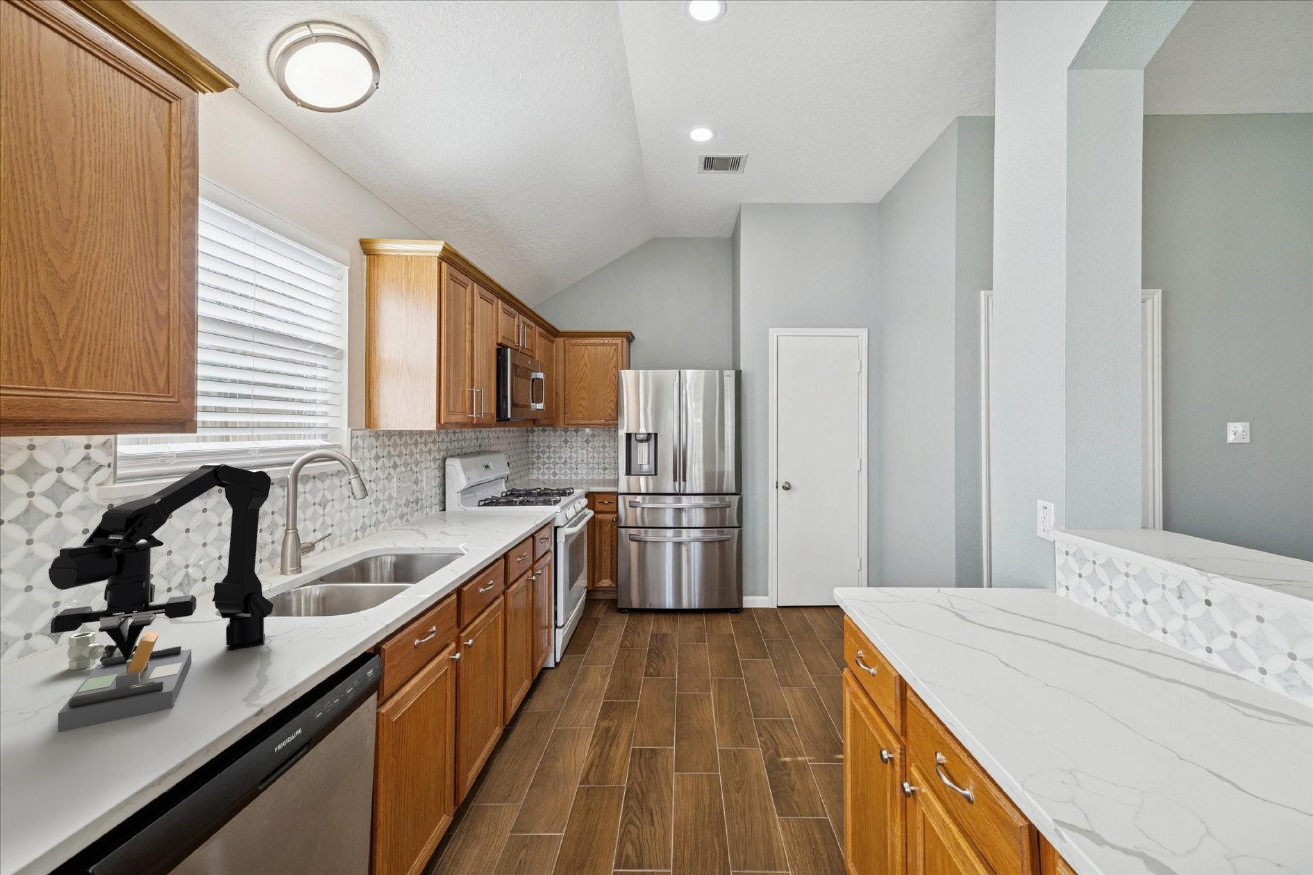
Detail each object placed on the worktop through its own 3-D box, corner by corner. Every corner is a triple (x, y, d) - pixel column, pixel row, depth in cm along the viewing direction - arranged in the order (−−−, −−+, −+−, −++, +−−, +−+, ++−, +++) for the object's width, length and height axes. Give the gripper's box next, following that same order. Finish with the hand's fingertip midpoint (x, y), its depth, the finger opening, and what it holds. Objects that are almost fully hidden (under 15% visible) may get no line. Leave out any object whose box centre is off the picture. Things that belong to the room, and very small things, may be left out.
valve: (54, 672, 110) (103, 677, 108) (53, 640, 110) (103, 644, 108) (92, 659, 116) (140, 663, 115) (92, 628, 116) (139, 631, 115)
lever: (145, 667, 104) (159, 633, 105) (139, 676, 100) (153, 641, 101) (131, 666, 103) (145, 632, 104) (125, 676, 99) (140, 640, 100)
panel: (191, 663, 114) (191, 639, 114) (172, 707, 96) (172, 679, 96) (98, 679, 107) (97, 654, 107) (58, 731, 88) (57, 701, 88)
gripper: (200, 560, 113) (199, 635, 113) (72, 571, 102) (70, 654, 102) (192, 572, 103) (191, 654, 104) (50, 585, 93) (48, 676, 93)
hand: (127, 659), depth 101 cm, fingers closed
